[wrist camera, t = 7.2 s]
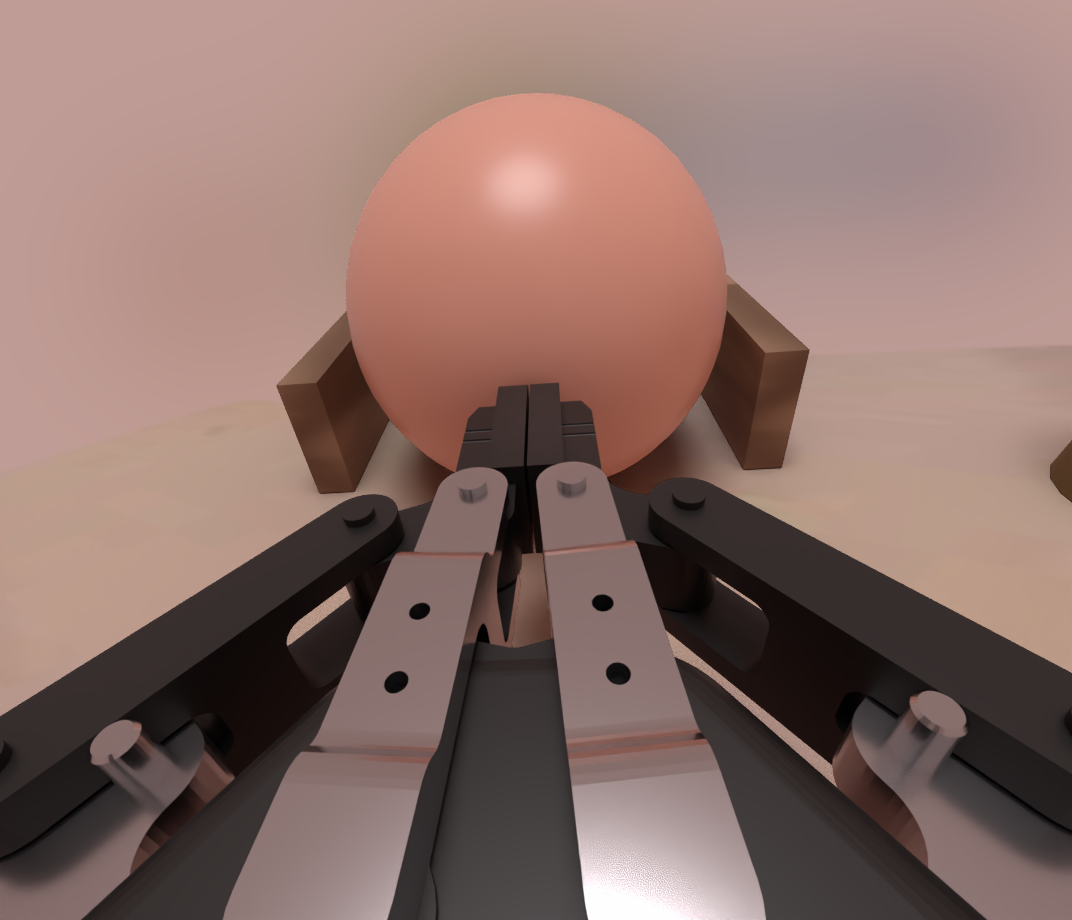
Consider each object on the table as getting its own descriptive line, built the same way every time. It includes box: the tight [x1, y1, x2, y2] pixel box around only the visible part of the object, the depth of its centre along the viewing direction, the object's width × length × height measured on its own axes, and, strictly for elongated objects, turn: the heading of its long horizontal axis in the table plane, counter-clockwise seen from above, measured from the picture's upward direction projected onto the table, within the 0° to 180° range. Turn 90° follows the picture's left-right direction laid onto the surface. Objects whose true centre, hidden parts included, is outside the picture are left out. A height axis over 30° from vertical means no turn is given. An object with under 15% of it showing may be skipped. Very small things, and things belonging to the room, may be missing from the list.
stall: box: [277, 275, 809, 493], centre depth 24 cm, size 19×10×5 cm, turn 90°
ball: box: [346, 93, 727, 477], centre depth 19 cm, size 13×13×13 cm
